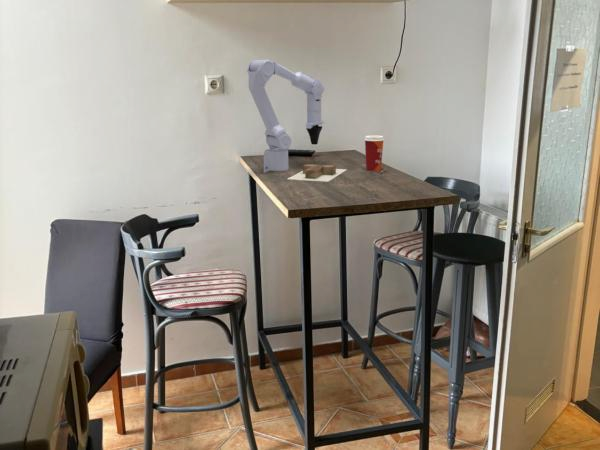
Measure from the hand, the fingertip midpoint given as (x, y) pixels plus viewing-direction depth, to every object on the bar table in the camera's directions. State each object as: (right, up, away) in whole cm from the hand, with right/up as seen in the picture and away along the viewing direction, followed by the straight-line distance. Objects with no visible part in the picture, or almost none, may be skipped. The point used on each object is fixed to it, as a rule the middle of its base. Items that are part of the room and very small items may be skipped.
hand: (314, 144), depth 243 cm
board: (+1, -15, -17) cm, 23 cm away
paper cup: (+23, -12, -10) cm, 28 cm away
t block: (0, -14, -19) cm, 24 cm away
